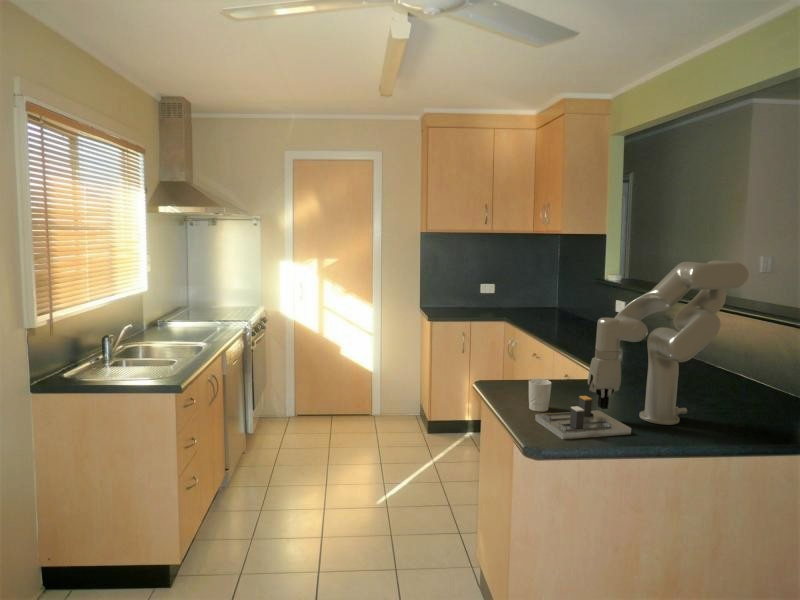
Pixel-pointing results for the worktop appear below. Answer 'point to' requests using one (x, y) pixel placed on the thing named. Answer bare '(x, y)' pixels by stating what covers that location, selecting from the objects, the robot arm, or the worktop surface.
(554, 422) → the console
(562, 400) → the worktop surface
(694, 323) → the robot arm
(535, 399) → the white cup
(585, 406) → the block
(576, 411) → the fader
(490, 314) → the worktop surface
